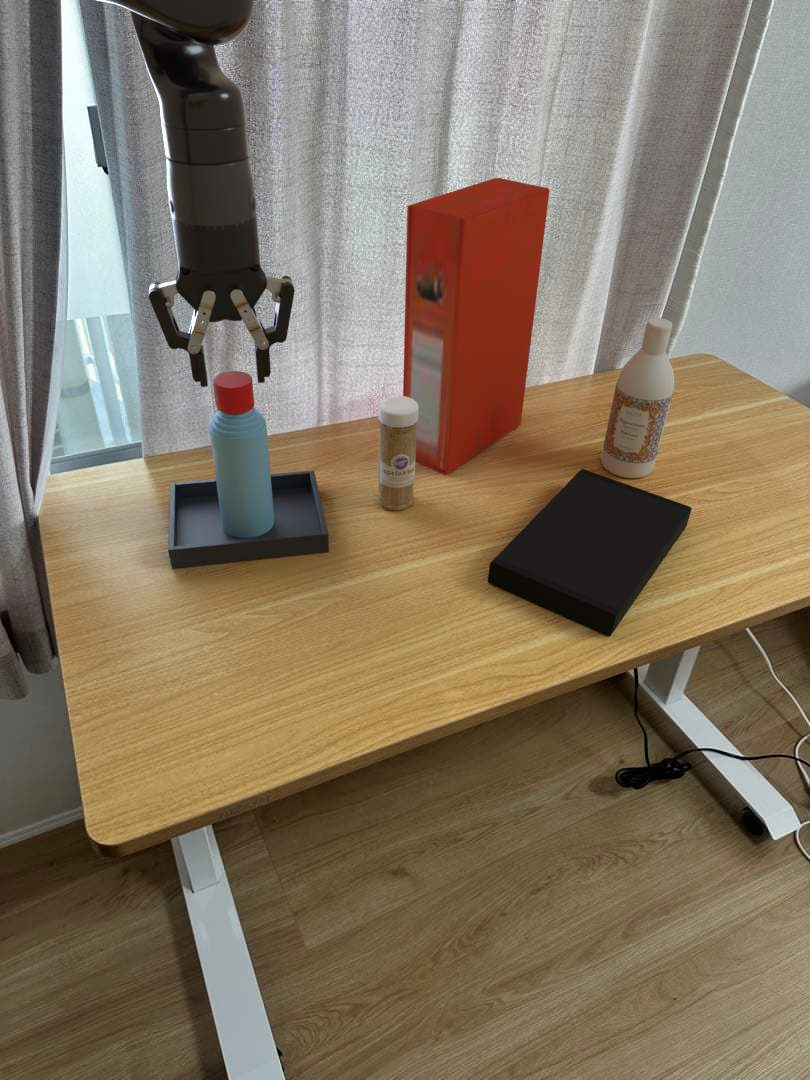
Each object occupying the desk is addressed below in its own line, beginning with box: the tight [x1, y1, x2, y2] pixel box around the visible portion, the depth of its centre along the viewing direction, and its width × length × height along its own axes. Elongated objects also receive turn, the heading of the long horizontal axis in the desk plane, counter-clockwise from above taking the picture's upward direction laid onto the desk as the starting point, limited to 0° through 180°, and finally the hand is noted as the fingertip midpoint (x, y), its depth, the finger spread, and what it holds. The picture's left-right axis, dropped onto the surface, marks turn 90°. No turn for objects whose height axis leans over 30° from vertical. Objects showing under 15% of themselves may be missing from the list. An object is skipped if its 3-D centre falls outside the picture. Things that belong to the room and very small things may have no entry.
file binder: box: [402, 177, 550, 475], centre depth 101 cm, size 8×17×32 cm, turn 141°
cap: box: [212, 370, 255, 414], centre depth 83 cm, size 4×4×3 cm
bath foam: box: [600, 317, 675, 479], centre depth 101 cm, size 7×7×20 cm
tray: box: [167, 470, 330, 570], centre depth 93 cm, size 17×13×3 cm
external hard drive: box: [487, 468, 693, 637], centre depth 91 cm, size 14×23×3 cm, turn 146°
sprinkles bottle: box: [376, 395, 419, 511], centre depth 95 cm, size 5×5×13 cm
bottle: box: [208, 406, 274, 538], centre depth 88 cm, size 6×6×18 cm
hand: (232, 380), depth 83 cm, fingers open, 5 cm apart
